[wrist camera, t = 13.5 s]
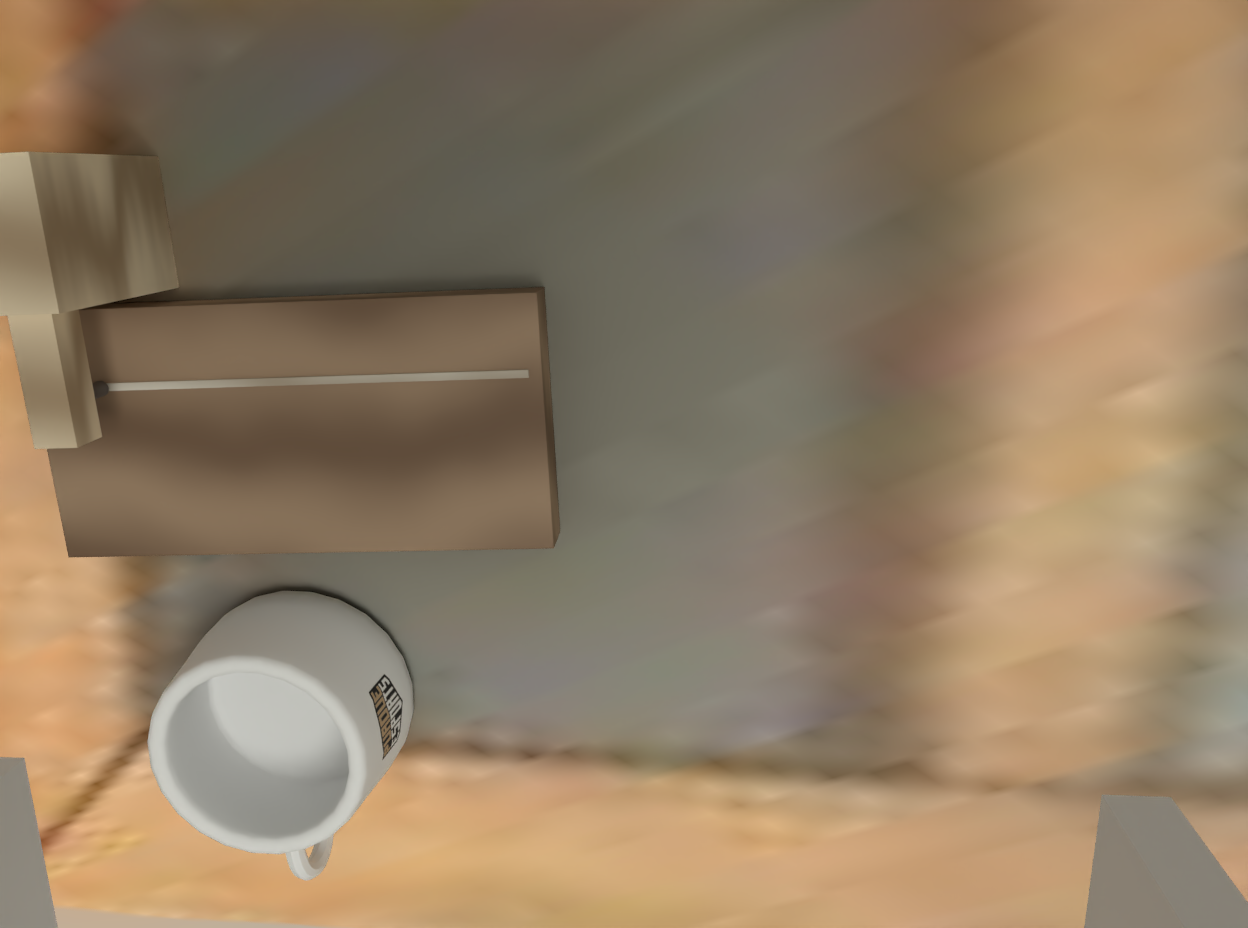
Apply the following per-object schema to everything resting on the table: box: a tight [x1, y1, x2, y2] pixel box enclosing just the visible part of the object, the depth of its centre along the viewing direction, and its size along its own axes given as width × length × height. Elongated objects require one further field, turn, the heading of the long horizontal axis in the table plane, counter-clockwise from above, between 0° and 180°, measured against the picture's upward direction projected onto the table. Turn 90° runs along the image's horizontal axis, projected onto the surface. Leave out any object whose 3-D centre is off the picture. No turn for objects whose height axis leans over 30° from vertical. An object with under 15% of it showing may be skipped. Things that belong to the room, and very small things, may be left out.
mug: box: [148, 591, 414, 880], centre depth 43 cm, size 12×10×6 cm
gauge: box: [0, 152, 179, 449], centre depth 37 cm, size 10×5×8 cm, turn 3°
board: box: [47, 287, 560, 557], centre depth 41 cm, size 10×20×2 cm, turn 93°
